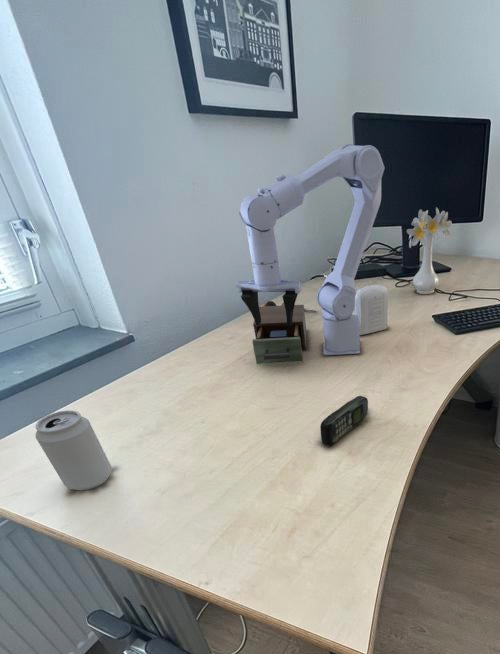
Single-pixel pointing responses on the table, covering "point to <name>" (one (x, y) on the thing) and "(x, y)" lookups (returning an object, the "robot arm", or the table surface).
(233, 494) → the table surface
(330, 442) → the mobile phone
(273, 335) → the block
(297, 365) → the table surface
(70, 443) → the can
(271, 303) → the headphones
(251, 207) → the robot arm
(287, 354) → the drawer
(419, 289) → the flower vase
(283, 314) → the cabinet
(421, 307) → the table surface
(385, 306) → the white rounded slab
